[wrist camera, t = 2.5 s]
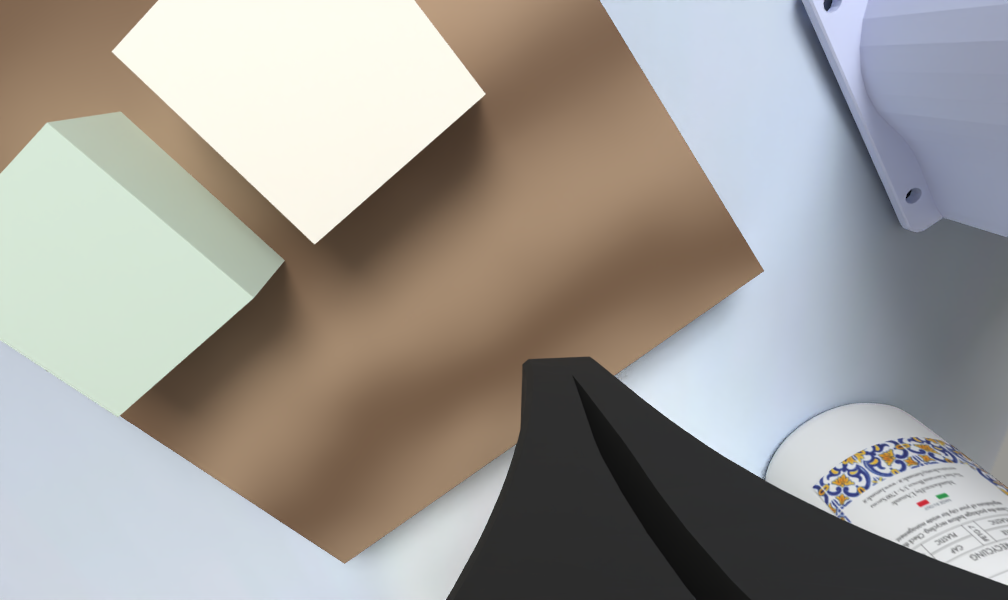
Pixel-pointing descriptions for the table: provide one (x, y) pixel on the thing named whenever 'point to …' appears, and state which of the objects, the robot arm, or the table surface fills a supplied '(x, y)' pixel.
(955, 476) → the bath foam
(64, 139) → the sage tile
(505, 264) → the walnut plate
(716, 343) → the table surface
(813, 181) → the table surface
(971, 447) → the table surface
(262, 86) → the cream tile
